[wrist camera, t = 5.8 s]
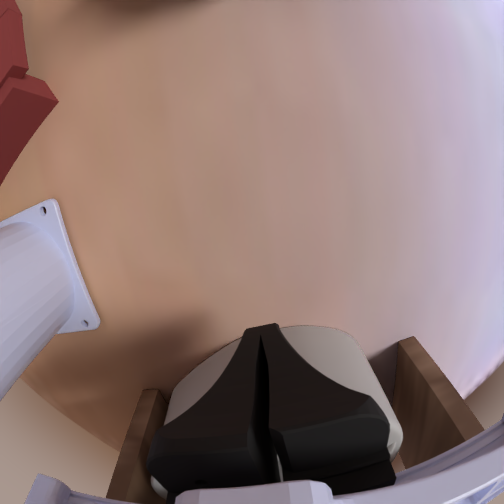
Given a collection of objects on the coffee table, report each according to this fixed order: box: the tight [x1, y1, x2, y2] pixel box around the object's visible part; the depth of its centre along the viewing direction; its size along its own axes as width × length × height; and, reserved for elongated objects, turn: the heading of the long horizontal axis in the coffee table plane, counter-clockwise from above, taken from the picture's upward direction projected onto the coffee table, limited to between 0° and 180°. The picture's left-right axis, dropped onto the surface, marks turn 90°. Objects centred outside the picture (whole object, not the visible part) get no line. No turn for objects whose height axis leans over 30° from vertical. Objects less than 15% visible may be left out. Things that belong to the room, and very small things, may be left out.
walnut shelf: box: [106, 336, 484, 504], centre depth 13 cm, size 18×10×12 cm, turn 102°
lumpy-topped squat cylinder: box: [151, 326, 403, 499], centre depth 14 cm, size 10×13×9 cm
